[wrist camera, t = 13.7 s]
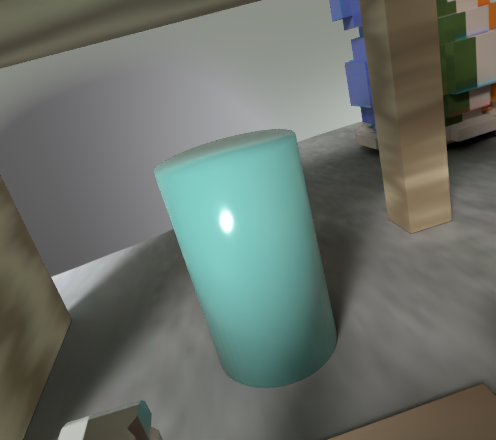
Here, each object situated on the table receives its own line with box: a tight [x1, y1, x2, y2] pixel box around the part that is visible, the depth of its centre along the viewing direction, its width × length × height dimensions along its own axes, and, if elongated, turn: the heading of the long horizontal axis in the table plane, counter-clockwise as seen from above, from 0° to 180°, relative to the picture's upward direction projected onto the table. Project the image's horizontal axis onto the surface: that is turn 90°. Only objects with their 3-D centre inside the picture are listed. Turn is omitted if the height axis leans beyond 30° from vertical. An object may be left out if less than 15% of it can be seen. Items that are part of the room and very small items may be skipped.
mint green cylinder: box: [154, 129, 337, 388], centre depth 19 cm, size 6×6×10 cm
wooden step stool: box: [0, 0, 452, 440], centre depth 19 cm, size 14×28×18 cm, turn 101°
